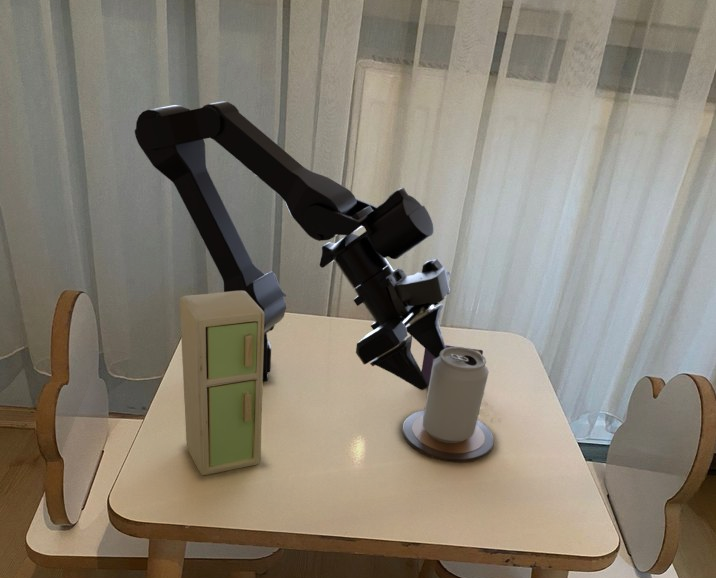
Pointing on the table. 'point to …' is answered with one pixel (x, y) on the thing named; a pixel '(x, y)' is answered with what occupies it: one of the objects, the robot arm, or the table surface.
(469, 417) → the can
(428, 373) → the game card
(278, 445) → the table surface
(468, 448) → the coaster
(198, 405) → the toy refrigerator
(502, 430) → the table surface
